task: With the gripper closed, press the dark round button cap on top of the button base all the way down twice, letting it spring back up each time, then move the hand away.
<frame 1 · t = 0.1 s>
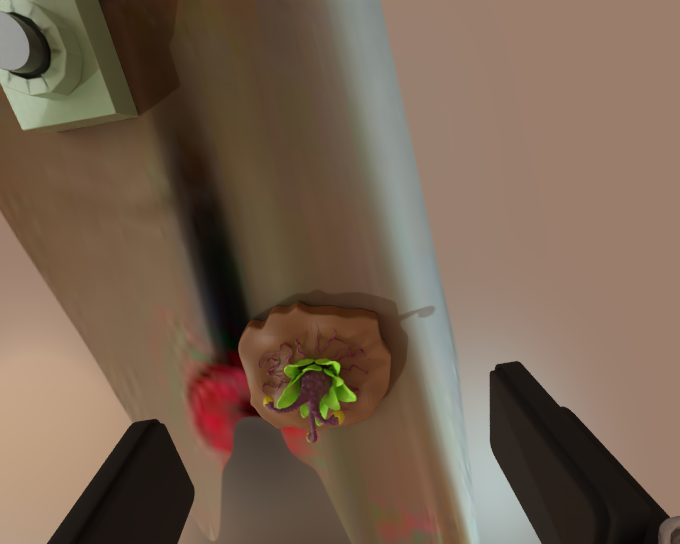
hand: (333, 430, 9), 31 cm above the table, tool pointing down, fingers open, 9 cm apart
dark round button cap: (13, 44, 26), point 7 cm above the table, slide at 0.1 cm
button base: (73, 63, 32), on the table
plant: (318, 362, 46), on the table
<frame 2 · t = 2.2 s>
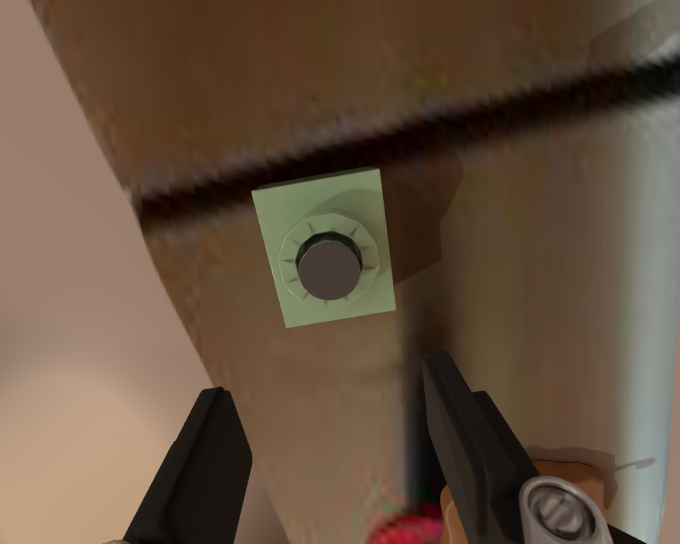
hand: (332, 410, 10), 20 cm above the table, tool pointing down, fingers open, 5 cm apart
dark round button cap: (329, 267, 22), point 7 cm above the table, slide at 0.1 cm
button base: (328, 240, 28), on the table
plant: (514, 510, 42), on the table
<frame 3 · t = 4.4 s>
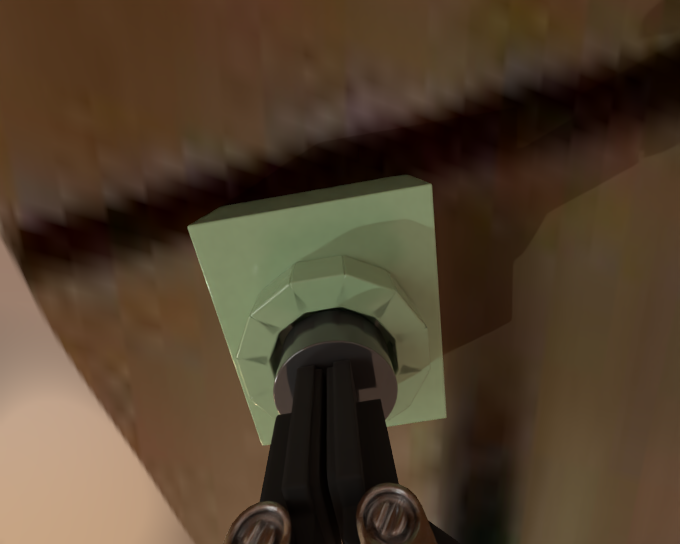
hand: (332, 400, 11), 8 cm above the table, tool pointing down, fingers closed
dark round button cap: (335, 374, 12), point 7 cm above the table, slide at 0.0 cm, touching gripper
button base: (332, 294, 18), on the table
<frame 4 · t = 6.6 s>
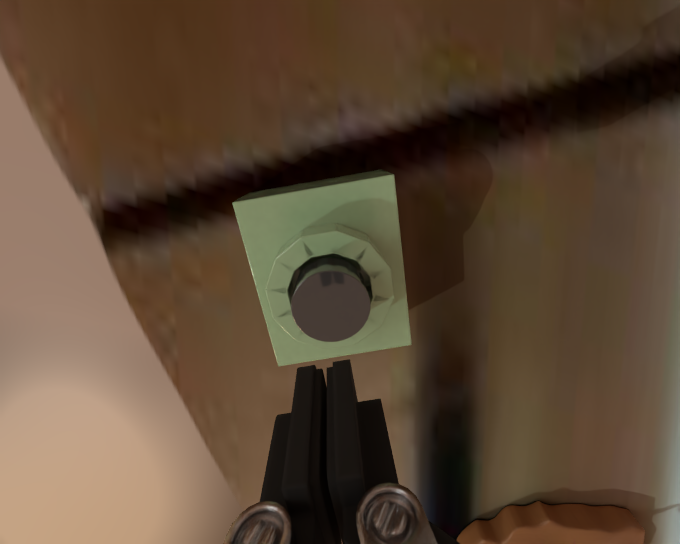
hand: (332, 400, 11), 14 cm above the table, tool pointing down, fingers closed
dark round button cap: (330, 299, 18), point 7 cm above the table, slide at 0.1 cm
button base: (329, 259, 24), on the table
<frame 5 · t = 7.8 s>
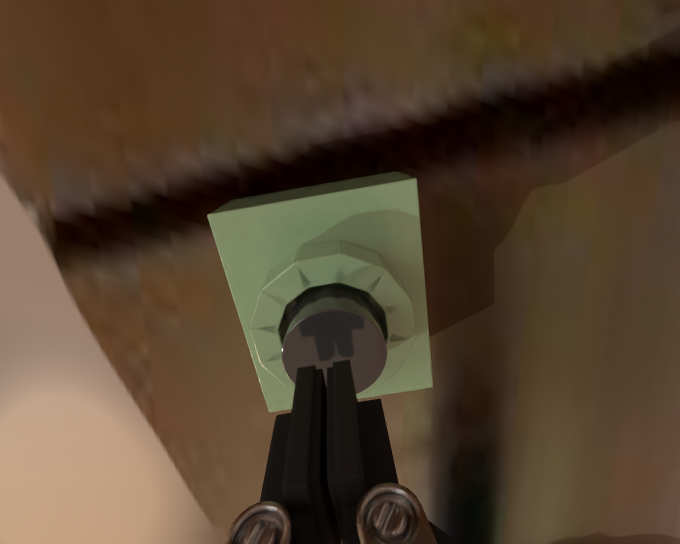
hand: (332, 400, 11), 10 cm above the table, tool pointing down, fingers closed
dark round button cap: (334, 341, 13), point 7 cm above the table, slide at 0.1 cm
button base: (332, 279, 20), on the table
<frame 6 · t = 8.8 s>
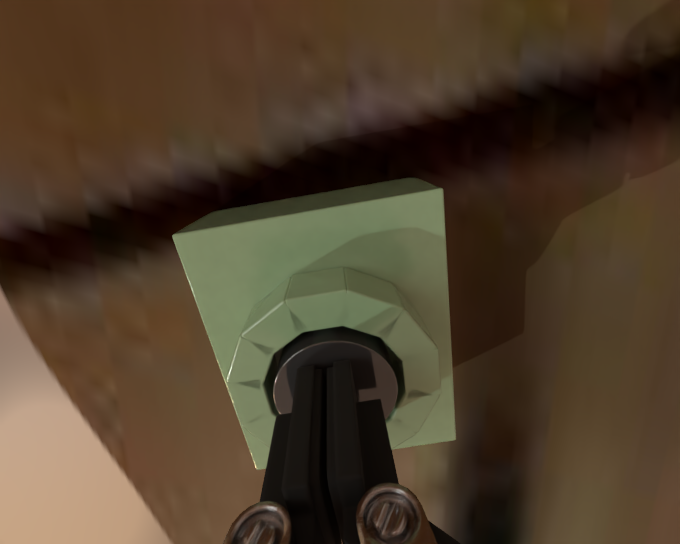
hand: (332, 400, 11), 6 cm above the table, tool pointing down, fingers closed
dark round button cap: (335, 374, 12), point 5 cm above the table, slide at -1.3 cm, touching gripper
button base: (333, 305, 16), on the table
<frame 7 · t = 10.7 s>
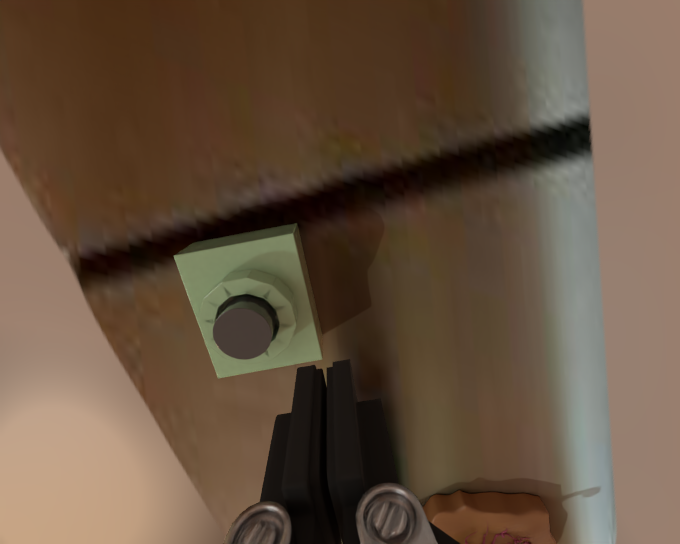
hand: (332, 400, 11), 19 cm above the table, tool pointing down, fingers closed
dark round button cap: (245, 327, 24), point 7 cm above the table, slide at 0.1 cm
button base: (261, 291, 30), on the table
plant: (468, 541, 43), on the table
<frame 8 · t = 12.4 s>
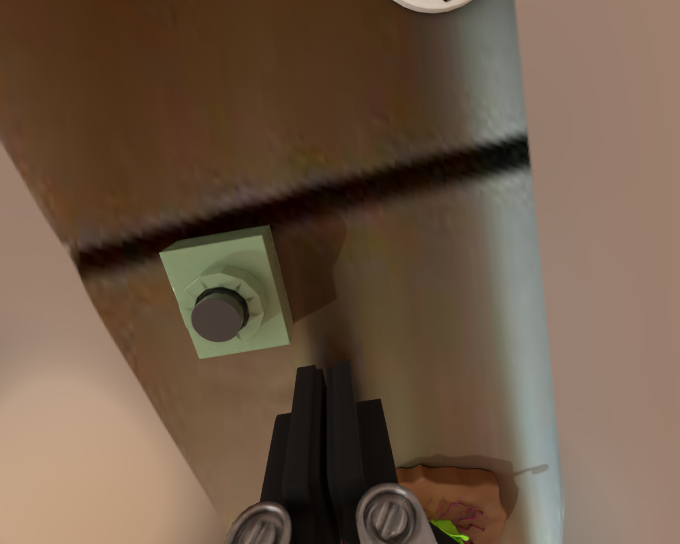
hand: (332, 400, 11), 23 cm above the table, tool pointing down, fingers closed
dark round button cap: (219, 315, 28), point 7 cm above the table, slide at 0.1 cm
button base: (239, 284, 34), on the table
plant: (429, 511, 47), on the table
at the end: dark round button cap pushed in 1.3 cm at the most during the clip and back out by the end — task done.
